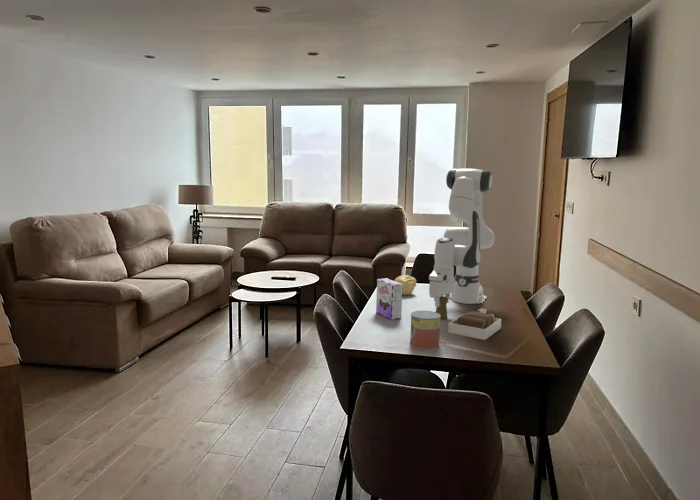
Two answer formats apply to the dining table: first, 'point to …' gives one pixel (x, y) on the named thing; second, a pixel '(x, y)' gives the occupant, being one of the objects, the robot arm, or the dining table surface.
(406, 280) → the beige rounded lump
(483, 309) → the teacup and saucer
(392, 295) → the candy box
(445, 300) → the olive waisted cylinder
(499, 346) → the dining table surface
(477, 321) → the walnut block
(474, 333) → the tote
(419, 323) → the canned food
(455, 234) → the robot arm
